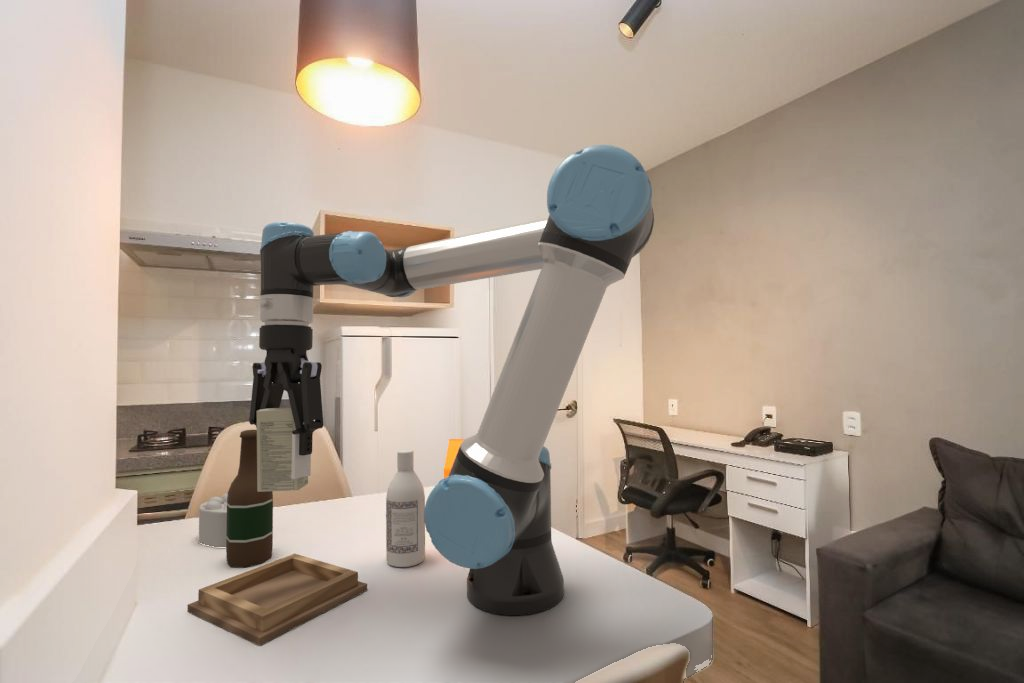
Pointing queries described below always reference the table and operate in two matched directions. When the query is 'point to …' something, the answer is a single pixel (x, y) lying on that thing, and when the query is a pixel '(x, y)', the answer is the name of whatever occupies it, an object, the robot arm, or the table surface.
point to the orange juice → (451, 454)
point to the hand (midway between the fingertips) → (284, 473)
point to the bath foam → (405, 515)
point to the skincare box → (276, 451)
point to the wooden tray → (276, 597)
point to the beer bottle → (248, 511)
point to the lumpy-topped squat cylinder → (213, 521)
